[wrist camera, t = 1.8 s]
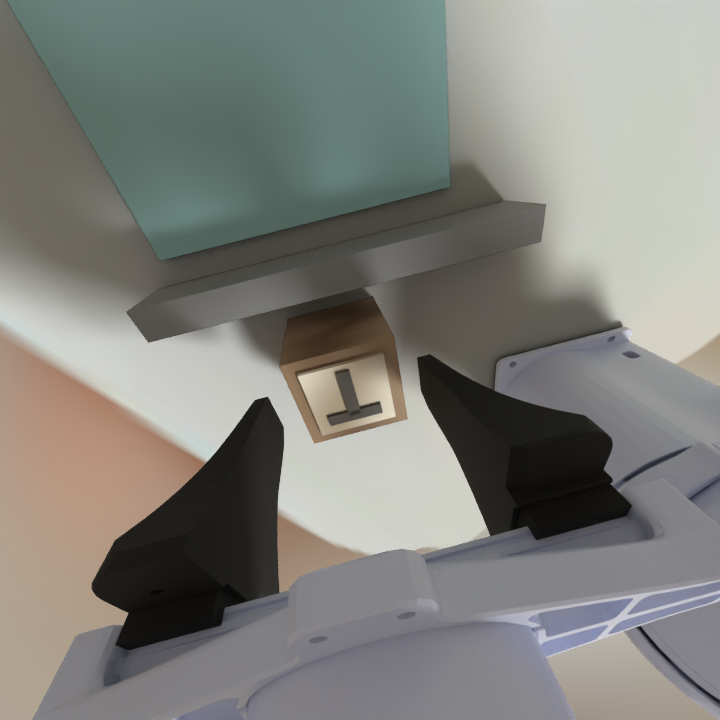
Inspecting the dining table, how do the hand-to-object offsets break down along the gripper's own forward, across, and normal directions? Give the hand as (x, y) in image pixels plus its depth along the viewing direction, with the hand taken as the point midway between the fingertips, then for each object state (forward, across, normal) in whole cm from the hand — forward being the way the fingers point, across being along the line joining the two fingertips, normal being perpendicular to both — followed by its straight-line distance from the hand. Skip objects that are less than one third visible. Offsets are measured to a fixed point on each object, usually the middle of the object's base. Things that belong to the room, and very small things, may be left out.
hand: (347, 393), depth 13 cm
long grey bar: (+5, -1, -5) cm, 7 cm away
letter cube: (+5, 0, 0) cm, 5 cm away
